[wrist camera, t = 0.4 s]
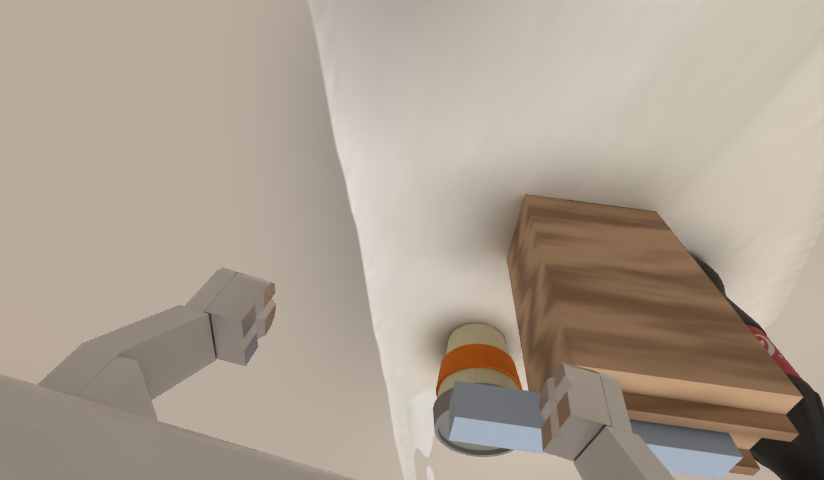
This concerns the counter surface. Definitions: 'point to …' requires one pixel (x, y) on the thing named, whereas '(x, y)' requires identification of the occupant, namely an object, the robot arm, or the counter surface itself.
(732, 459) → the gray block
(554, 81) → the counter surface
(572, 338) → the walnut block
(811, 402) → the cola bottle
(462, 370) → the reusable coffee cup
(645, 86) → the counter surface
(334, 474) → the robot arm
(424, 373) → the counter surface
